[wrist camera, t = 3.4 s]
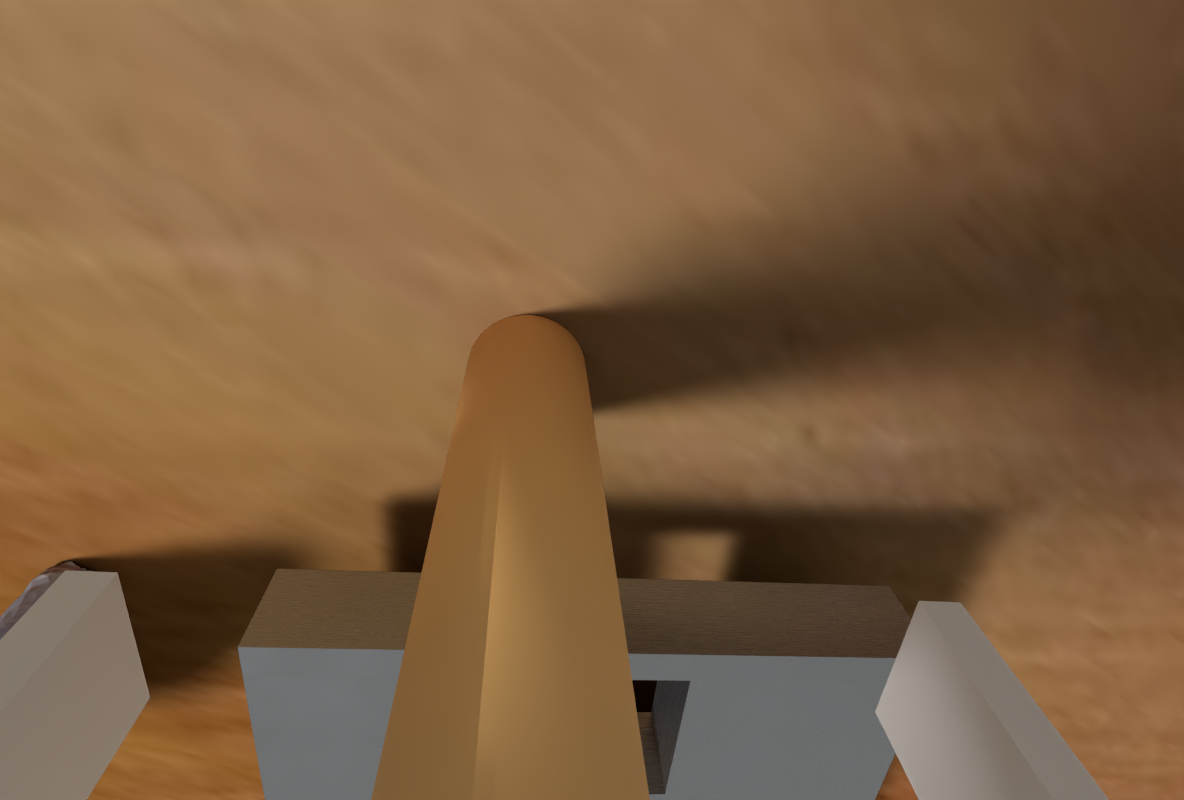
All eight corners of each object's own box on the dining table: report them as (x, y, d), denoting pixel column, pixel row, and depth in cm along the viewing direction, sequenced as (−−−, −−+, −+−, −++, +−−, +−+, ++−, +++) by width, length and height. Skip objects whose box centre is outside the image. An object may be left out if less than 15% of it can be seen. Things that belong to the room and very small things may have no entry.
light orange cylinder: (469, 310, 20) (310, 922, 6) (590, 319, 21) (705, 913, 7) (467, 418, 22) (337, 1100, 8) (580, 424, 22) (653, 1084, 8)
